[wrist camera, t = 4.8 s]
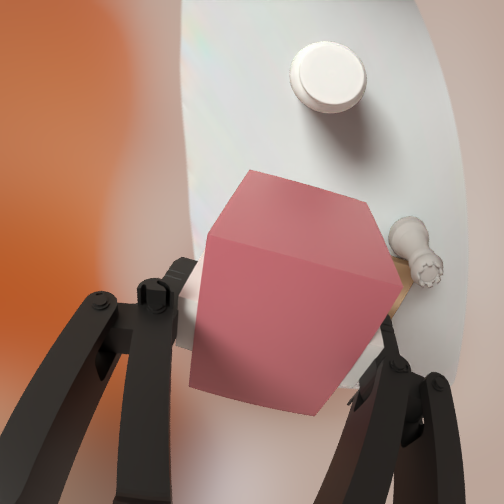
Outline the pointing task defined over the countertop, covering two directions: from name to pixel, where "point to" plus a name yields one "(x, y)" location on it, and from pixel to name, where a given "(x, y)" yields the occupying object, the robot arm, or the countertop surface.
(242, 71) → the countertop surface
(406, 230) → the rook chess piece
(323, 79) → the pill bottle
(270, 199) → the brick
